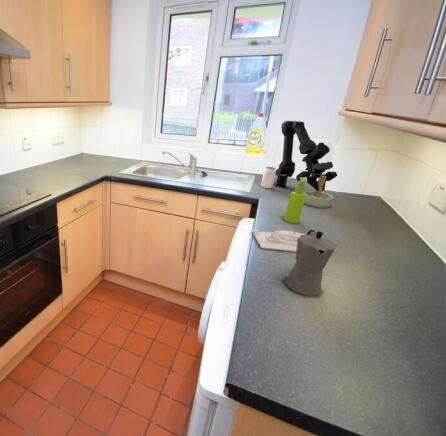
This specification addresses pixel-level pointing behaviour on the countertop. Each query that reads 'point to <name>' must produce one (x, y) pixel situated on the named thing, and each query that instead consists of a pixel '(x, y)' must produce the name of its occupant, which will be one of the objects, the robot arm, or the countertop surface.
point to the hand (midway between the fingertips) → (320, 190)
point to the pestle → (320, 187)
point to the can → (268, 177)
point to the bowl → (318, 200)
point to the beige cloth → (277, 240)
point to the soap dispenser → (296, 203)
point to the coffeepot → (310, 263)
